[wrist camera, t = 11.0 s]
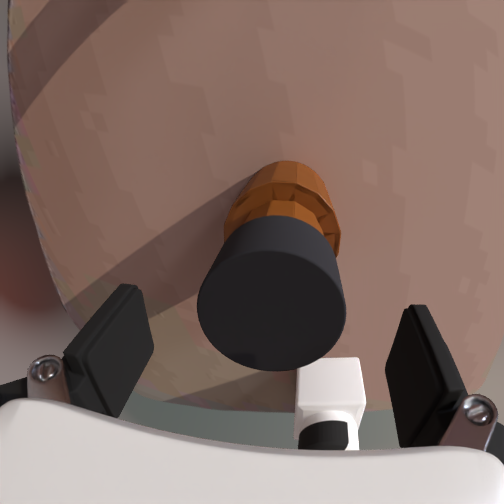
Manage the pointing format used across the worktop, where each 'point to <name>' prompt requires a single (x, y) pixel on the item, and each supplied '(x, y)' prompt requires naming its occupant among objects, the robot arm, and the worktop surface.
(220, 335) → the stopper
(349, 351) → the worktop surface
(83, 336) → the robot arm
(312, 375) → the medicine bottle
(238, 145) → the worktop surface
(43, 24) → the worktop surface
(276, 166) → the amber bottle
